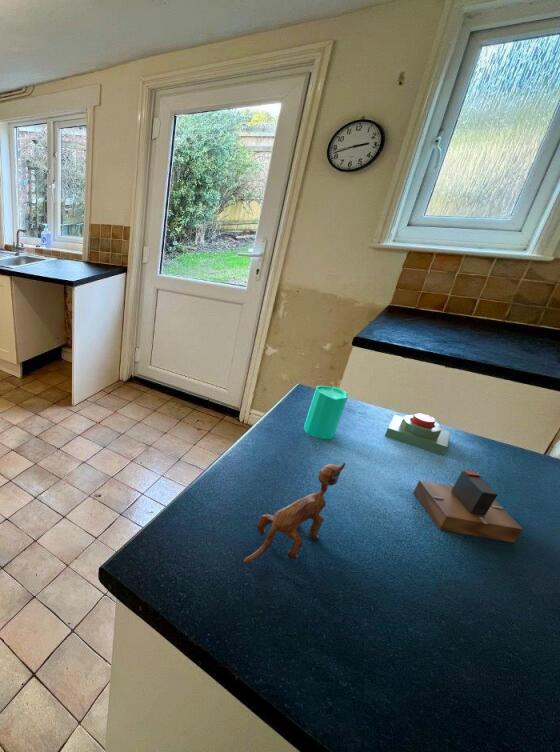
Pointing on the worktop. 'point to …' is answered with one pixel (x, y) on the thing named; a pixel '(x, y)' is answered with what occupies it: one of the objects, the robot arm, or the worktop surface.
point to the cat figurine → (298, 515)
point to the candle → (325, 411)
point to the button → (423, 420)
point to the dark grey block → (474, 492)
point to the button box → (418, 434)
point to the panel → (465, 514)
